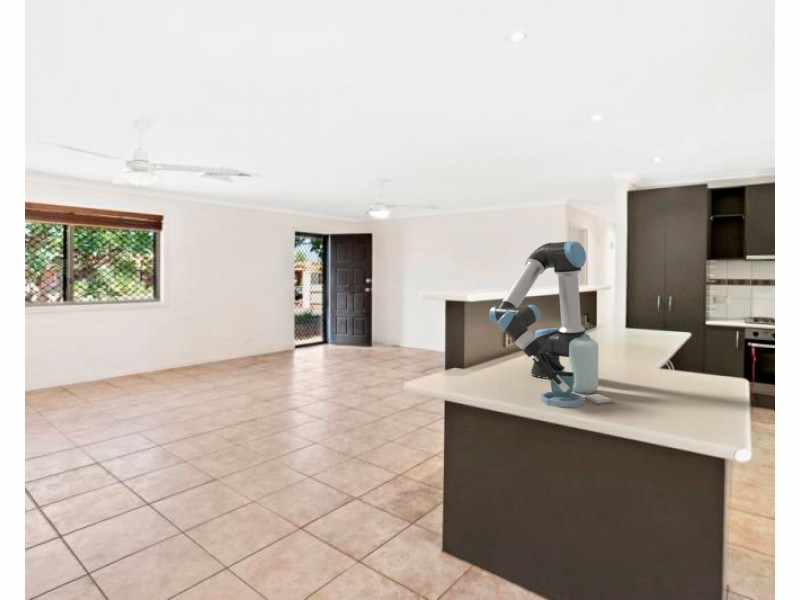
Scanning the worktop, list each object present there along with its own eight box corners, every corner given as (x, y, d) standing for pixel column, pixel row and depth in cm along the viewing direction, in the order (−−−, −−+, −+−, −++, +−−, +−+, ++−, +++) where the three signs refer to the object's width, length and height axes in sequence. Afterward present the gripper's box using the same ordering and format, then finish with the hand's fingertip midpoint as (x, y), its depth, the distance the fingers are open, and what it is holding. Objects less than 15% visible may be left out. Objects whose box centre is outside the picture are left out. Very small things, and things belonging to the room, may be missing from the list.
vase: (584, 395, 194) (584, 342, 193) (563, 390, 204) (563, 338, 203) (604, 392, 199) (604, 339, 198) (582, 386, 210) (582, 336, 208)
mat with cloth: (581, 398, 190) (581, 394, 190) (598, 396, 192) (598, 393, 192) (597, 405, 181) (597, 401, 181) (615, 403, 183) (615, 399, 182)
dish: (534, 398, 192) (534, 393, 191) (567, 395, 195) (567, 390, 195) (555, 408, 177) (555, 402, 177) (591, 405, 180) (591, 399, 180)
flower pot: (573, 394, 189) (573, 371, 188) (574, 400, 180) (574, 376, 180) (550, 392, 192) (550, 370, 191) (549, 398, 183) (549, 375, 183)
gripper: (530, 346, 202) (569, 387, 195) (514, 354, 183) (556, 399, 176) (543, 334, 199) (582, 375, 192) (527, 341, 180) (571, 387, 173)
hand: (570, 387), depth 184 cm, fingers closed on flower pot, 10 cm apart
